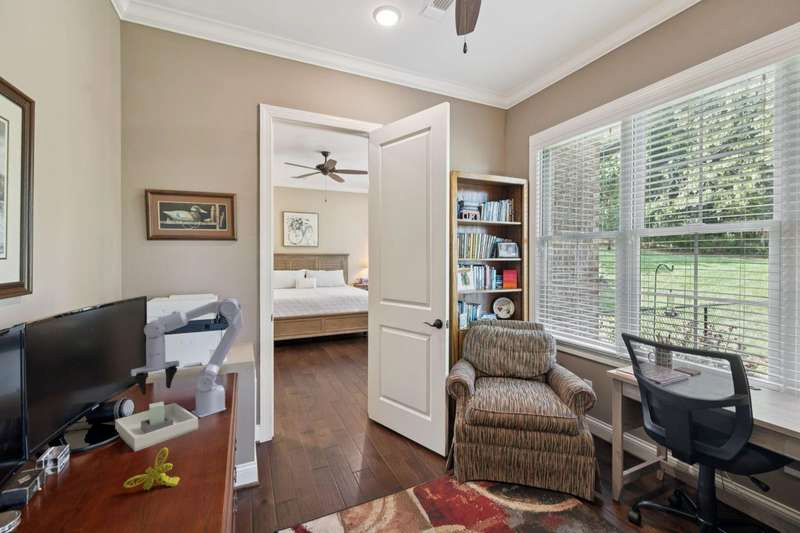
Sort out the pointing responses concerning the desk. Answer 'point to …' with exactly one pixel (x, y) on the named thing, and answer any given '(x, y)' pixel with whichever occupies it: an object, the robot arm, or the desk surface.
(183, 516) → the desk surface
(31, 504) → the desk surface
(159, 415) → the connector
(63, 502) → the desk surface
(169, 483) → the decorative insect
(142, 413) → the box
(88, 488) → the desk surface
